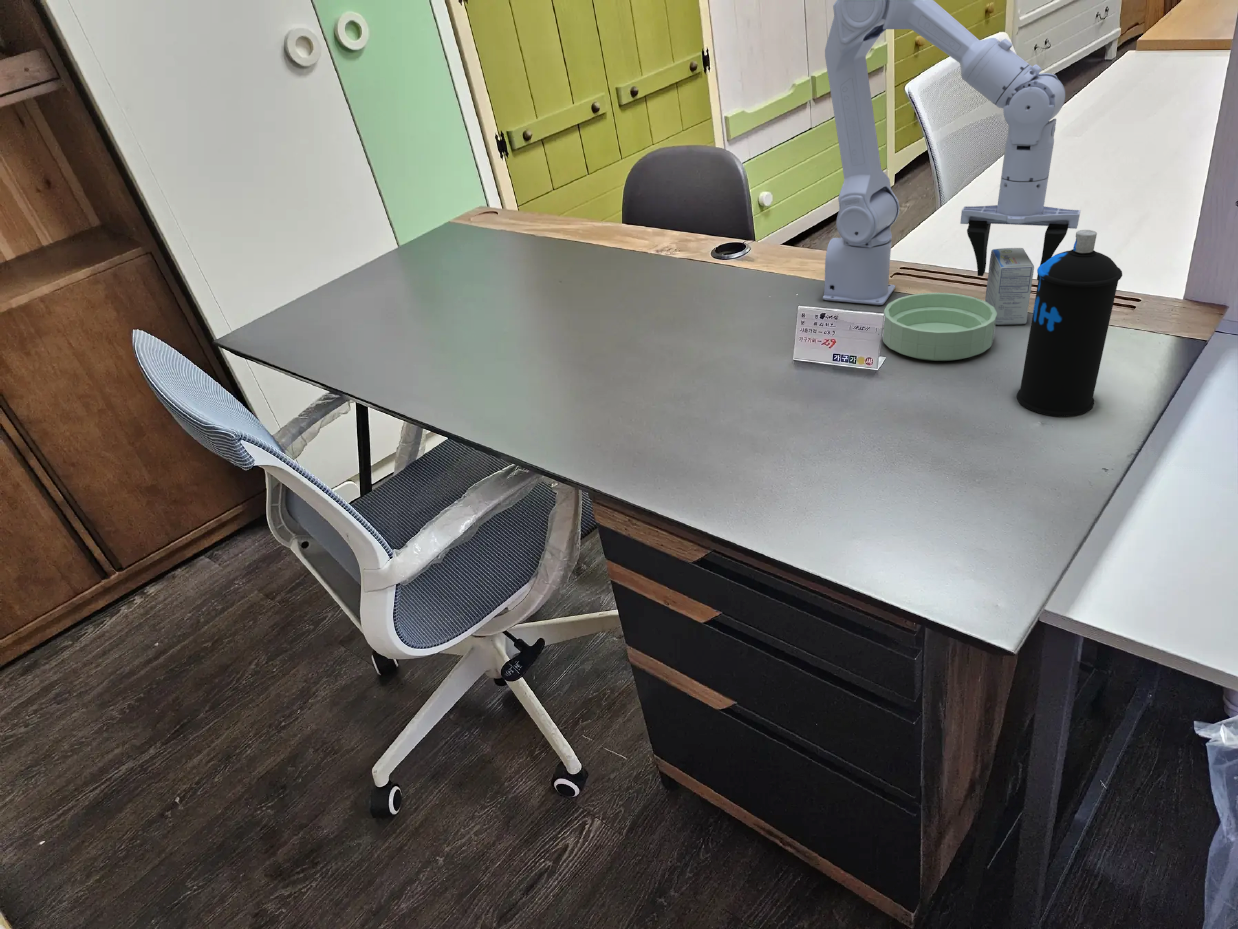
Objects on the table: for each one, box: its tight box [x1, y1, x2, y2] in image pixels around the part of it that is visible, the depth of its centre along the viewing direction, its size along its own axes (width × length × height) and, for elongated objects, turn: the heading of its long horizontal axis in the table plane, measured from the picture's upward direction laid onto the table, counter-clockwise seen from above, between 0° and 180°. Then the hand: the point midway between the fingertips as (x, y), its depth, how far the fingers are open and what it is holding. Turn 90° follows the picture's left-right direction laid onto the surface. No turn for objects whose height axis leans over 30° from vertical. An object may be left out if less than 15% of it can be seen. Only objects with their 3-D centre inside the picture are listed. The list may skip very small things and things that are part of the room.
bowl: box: [882, 292, 997, 362], centre depth 115 cm, size 14×14×4 cm
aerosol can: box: [1016, 229, 1123, 417], centre depth 94 cm, size 8×8×20 cm
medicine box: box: [984, 247, 1035, 326], centre depth 119 cm, size 8×4×9 cm, turn 168°
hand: (1010, 275), depth 119 cm, fingers open, 7 cm apart
